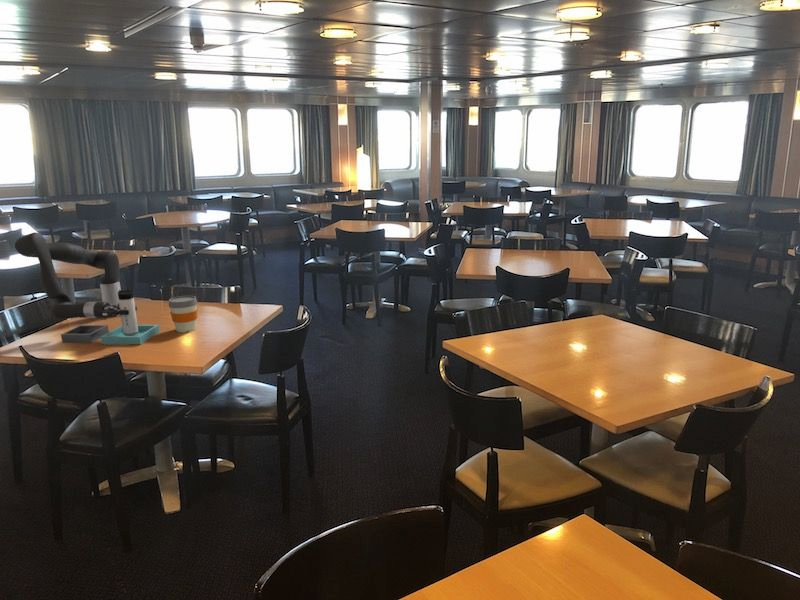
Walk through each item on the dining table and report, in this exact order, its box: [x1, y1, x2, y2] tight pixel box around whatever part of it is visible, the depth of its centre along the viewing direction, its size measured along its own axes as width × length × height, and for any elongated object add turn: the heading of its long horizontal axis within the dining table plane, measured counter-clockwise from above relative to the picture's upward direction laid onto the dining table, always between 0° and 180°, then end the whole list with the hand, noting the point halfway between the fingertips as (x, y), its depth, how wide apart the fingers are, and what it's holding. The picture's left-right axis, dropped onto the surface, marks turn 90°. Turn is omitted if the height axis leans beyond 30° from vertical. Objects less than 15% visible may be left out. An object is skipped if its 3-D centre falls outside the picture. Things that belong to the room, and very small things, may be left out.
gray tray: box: [60, 324, 110, 344], centre depth 283 cm, size 14×14×4 cm
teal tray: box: [100, 324, 161, 346], centre depth 281 cm, size 18×18×4 cm
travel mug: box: [118, 289, 138, 336], centre depth 278 cm, size 6×7×20 cm
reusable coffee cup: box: [168, 295, 198, 333], centre depth 290 cm, size 13×12×15 cm
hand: (132, 310), depth 277 cm, fingers closed on travel mug, 6 cm apart
